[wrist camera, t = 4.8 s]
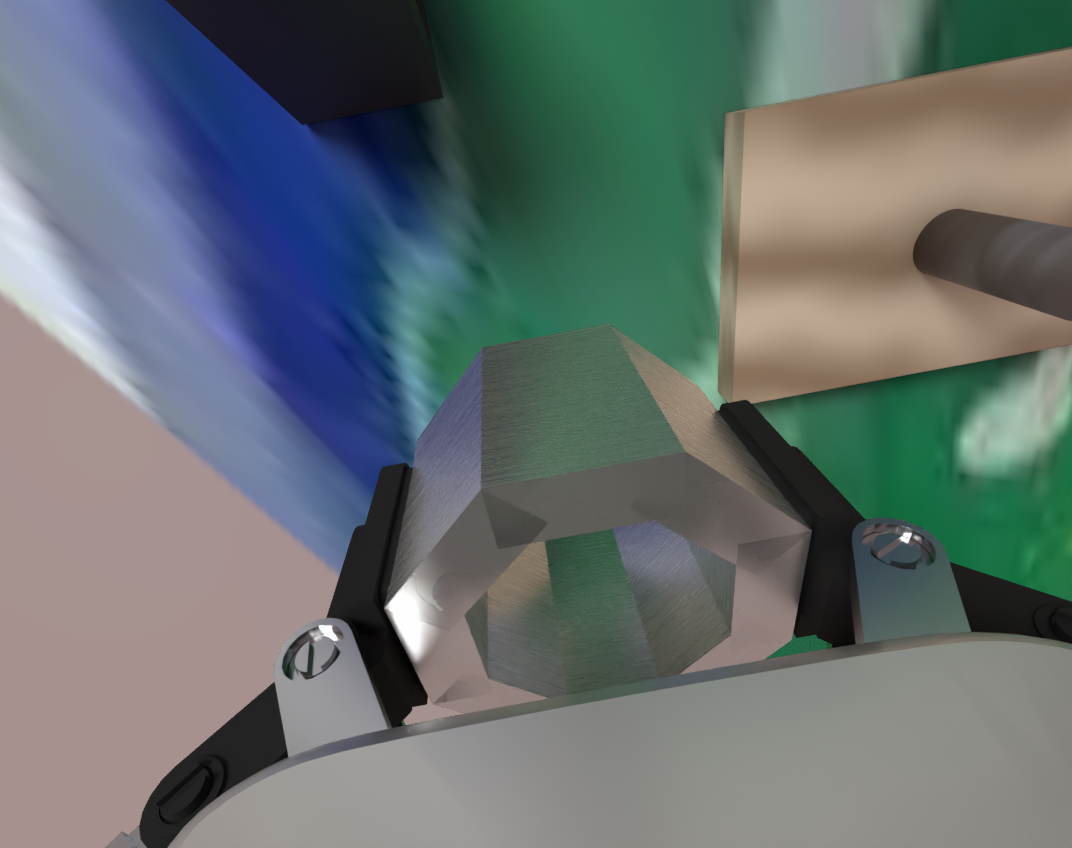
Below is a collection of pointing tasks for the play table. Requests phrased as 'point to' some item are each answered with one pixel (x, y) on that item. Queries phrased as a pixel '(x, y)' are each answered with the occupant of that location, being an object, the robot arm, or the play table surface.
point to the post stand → (897, 228)
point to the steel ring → (586, 530)
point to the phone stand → (325, 51)
